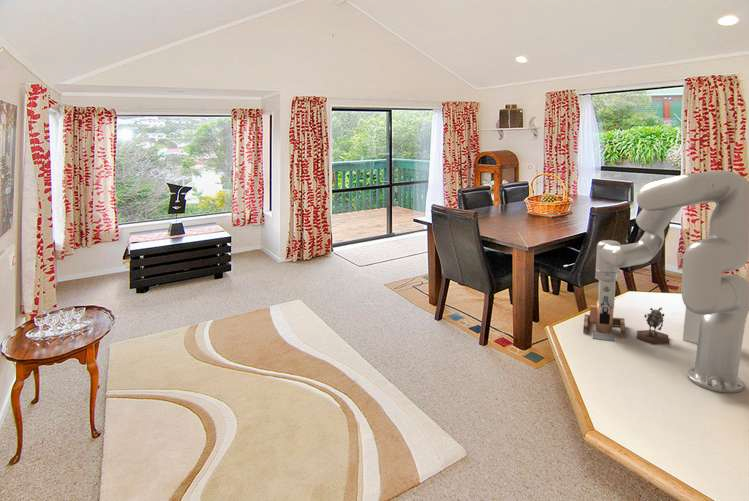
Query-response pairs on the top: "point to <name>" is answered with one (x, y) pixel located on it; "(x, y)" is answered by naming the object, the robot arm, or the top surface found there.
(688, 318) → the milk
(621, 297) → the top surface
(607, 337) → the mat
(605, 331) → the peach rounded cylinder
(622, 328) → the frame
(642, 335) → the robot figurine
